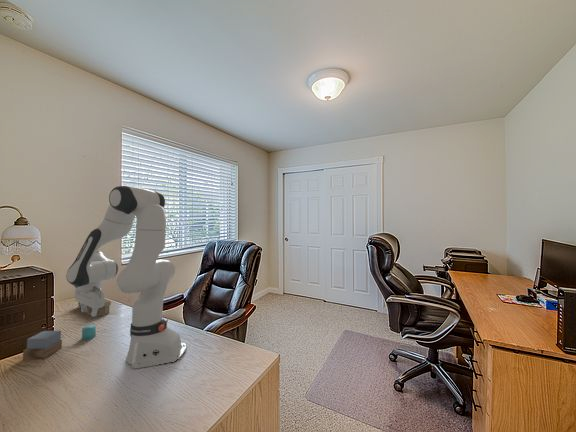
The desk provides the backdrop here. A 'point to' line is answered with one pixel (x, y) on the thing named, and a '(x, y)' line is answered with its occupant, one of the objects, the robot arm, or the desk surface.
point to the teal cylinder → (88, 332)
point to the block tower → (101, 310)
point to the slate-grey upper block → (43, 339)
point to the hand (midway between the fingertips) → (88, 313)
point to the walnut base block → (41, 352)
